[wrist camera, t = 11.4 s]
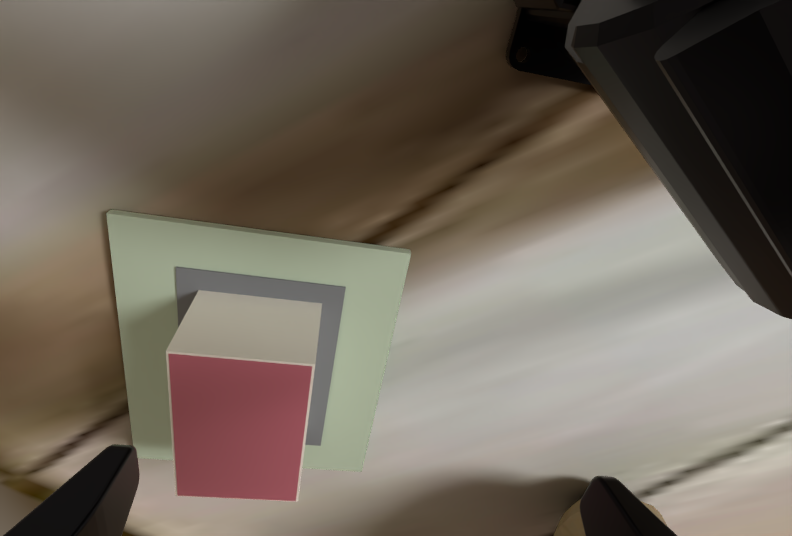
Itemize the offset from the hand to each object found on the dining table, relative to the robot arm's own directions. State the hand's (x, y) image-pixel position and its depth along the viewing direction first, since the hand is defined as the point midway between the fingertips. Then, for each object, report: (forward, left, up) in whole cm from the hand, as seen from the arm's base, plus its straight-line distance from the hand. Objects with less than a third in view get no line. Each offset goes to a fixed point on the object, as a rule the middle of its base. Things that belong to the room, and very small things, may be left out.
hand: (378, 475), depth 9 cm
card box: (+4, +8, -12) cm, 15 cm away
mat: (+4, +8, -12) cm, 15 cm away
